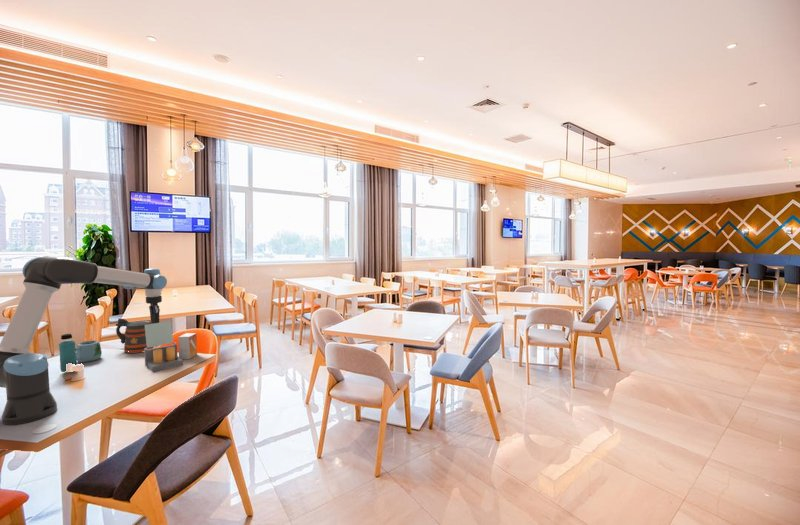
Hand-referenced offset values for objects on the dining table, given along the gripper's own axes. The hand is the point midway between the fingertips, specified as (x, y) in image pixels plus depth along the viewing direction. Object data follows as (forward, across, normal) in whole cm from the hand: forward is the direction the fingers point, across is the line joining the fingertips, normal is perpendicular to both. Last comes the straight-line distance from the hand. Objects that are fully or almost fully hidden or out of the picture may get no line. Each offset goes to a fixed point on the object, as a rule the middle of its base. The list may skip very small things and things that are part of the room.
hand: (155, 336), depth 206 cm
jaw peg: (+12, -18, -3) cm, 22 cm away
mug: (+13, +21, +29) cm, 38 cm away
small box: (+13, -12, -13) cm, 22 cm away
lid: (-3, -9, 0) cm, 10 cm away
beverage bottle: (+12, +5, +37) cm, 40 cm away
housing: (+12, -18, 0) cm, 22 cm away
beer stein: (+13, +25, +6) cm, 29 cm away
